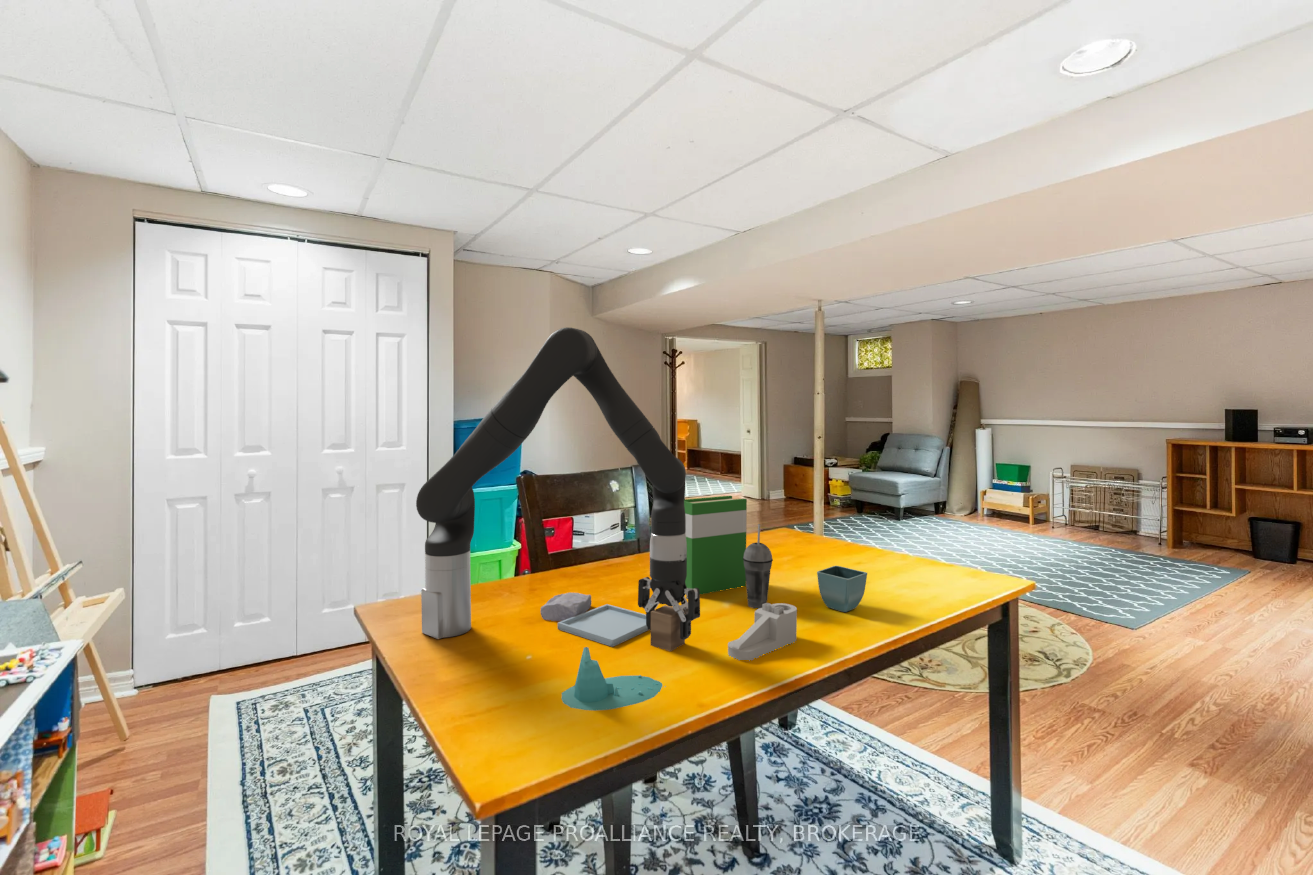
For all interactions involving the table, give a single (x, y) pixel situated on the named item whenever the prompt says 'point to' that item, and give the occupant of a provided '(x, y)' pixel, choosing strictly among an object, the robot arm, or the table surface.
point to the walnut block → (665, 628)
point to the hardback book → (715, 543)
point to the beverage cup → (757, 572)
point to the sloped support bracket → (766, 632)
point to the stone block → (565, 606)
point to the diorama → (607, 688)
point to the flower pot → (841, 587)
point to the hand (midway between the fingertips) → (668, 633)
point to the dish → (606, 625)
